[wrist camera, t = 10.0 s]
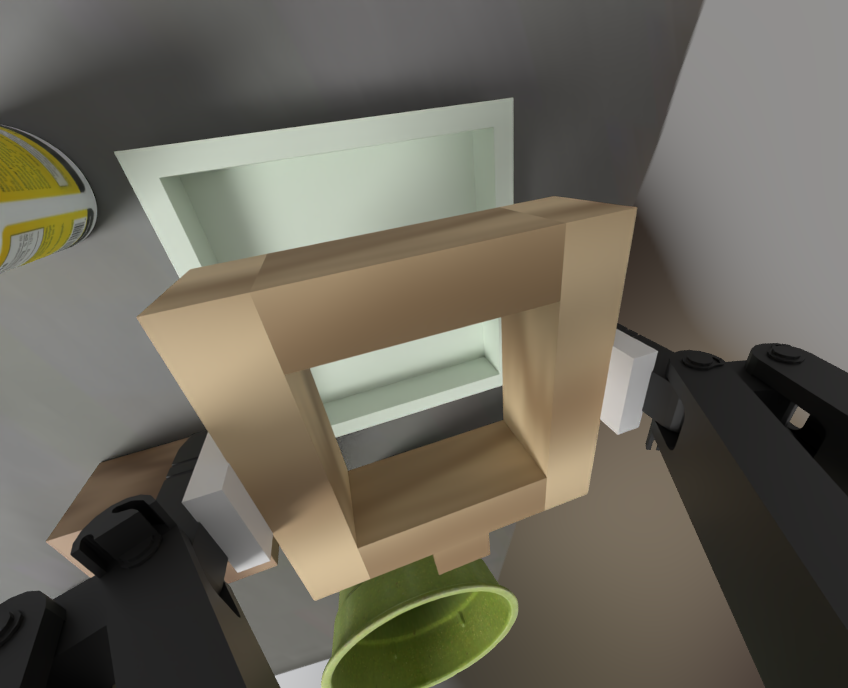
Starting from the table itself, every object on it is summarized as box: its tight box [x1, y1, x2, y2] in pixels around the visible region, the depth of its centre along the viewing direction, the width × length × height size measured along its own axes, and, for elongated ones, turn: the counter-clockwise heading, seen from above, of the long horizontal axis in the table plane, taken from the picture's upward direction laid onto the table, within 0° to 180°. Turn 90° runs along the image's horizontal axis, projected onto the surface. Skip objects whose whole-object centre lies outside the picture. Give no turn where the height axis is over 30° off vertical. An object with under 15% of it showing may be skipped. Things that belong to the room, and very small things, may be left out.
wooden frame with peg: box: [136, 196, 637, 601], centre depth 11 cm, size 11×10×3 cm
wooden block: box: [46, 437, 279, 584], centre depth 18 cm, size 8×8×11 cm
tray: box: [114, 98, 513, 438], centre depth 19 cm, size 16×16×3 cm
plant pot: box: [321, 555, 518, 688], centre depth 24 cm, size 12×12×11 cm
